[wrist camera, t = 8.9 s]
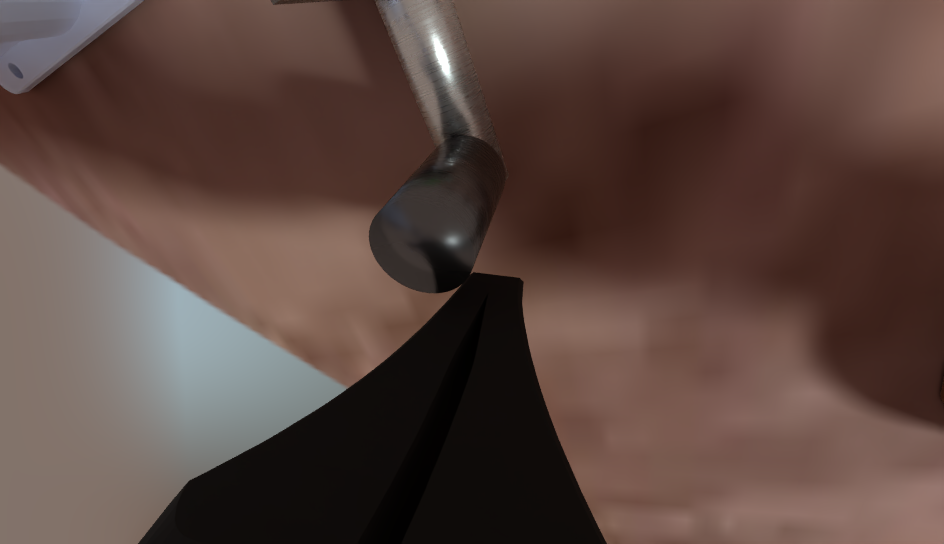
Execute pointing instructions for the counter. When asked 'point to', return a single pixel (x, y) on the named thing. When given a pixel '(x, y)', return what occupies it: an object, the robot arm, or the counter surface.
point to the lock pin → (439, 155)
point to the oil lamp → (942, 392)
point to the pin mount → (297, 1)
